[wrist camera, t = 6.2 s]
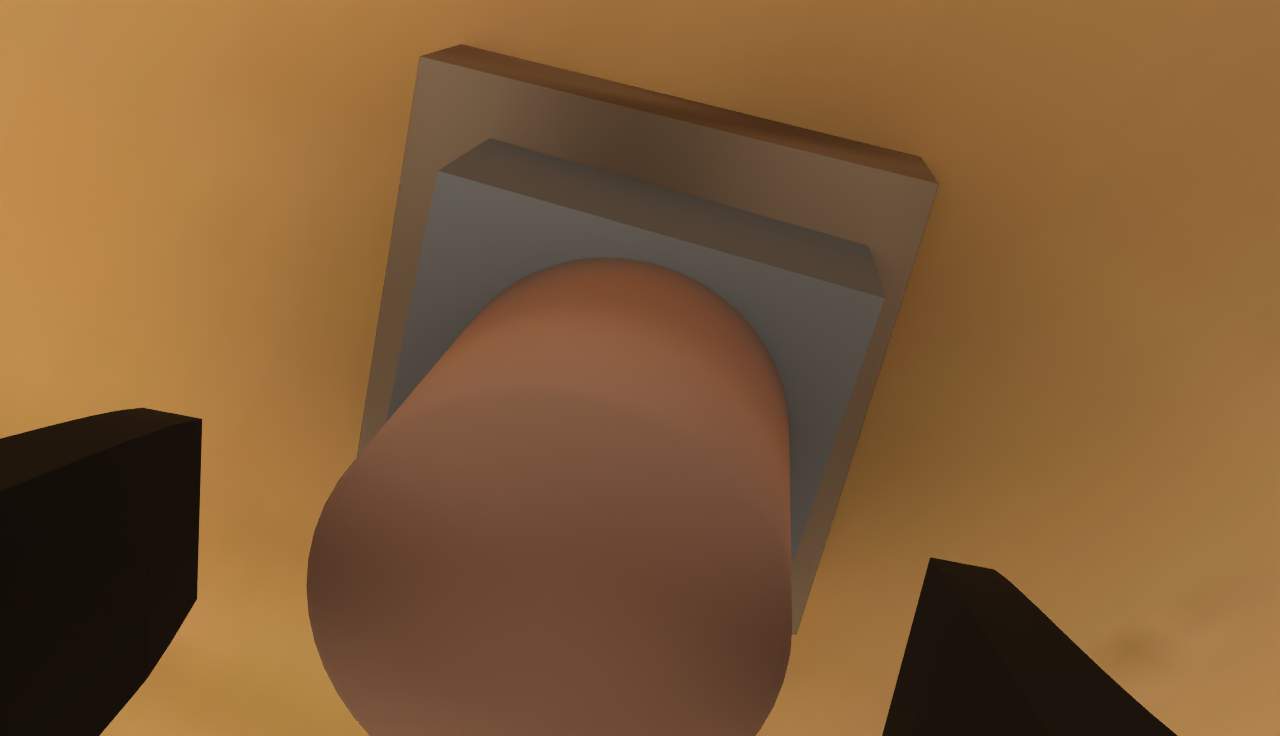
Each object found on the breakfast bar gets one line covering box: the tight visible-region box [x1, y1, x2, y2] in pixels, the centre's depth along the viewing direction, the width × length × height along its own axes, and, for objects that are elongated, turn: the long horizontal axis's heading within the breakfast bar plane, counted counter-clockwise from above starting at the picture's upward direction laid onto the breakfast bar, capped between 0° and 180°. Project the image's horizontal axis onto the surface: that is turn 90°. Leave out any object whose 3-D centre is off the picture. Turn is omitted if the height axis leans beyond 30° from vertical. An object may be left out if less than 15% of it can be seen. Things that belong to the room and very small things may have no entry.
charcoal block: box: [386, 138, 885, 566], centre depth 18 cm, size 6×6×3 cm
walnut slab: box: [357, 44, 939, 635], centre depth 21 cm, size 8×8×3 cm
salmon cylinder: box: [307, 257, 792, 736], centre depth 14 cm, size 5×5×5 cm
